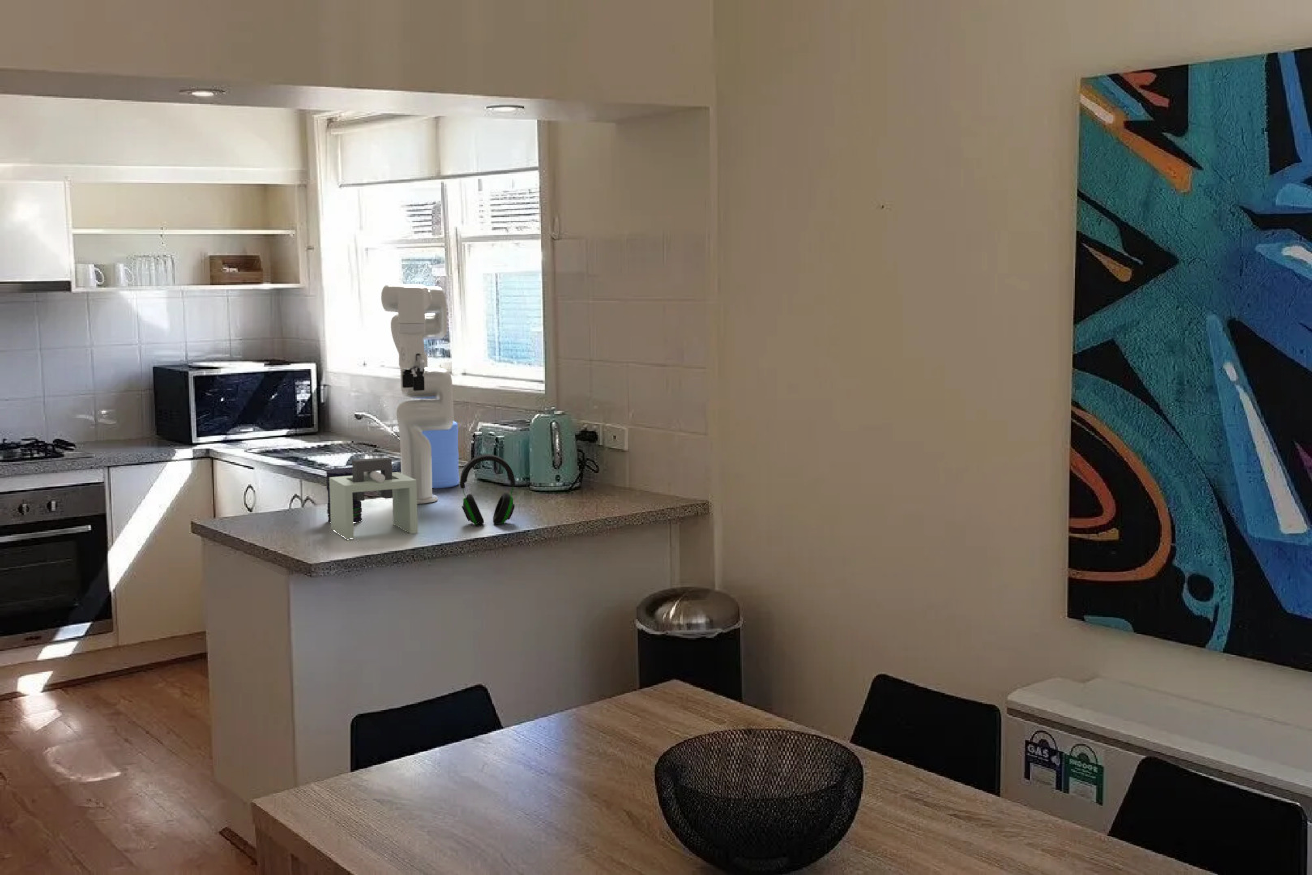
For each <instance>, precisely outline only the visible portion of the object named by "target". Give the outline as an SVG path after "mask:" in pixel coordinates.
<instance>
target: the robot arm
mask: <svg viewBox="0 0 1312 875" xmlns="http://www.w3.org/2000/svg"><path fill="white" fill-rule="evenodd" d="M380 300H381V305H382V307H383V309H384V311H385V312H390V313H397V314H395V315H393V317H392V318H391V320H390V331H391V336H392V340H393V343H394V345H395V348H396V350H397V352H398V366H399V367H400V369H399V370H400V389H401V393H402V395H403V396H404V397H405V398H407V399H410V400H406V401H403V402H401V403H400V404H398V406H397V408H396V421H397V426H398V433H399V443H400V444H399V446H400V449H399V450H400V473H402V474H404V475H406V476H409V477H411V478H413V479H415V480H416V487H417V505H419V504H420V505H421V504H430V503H433V502H436V501H438V495H435V494H433V489H432V457H431V444H430V442H429V440H428V439H427V438H426V437H425V435H424V434H423V433H422V432H423V431H435V430H448V429H450V428H451V427H452V425H453V421H455V420H454V418H455V417H454V416H455V414H454V413H455V412H454V393H453V392H454V390H453V378H452V376H451V372H450V371H449V370H447V369H446V368H440V367H439V368H438V367H437V368H432V367H431V368H429V367H428V365H429V364H428V355H427V353H426V351H425V344H424V340H442V339H443V338H445V337H446V335H447V333H448V332H447V331H448V306H447V305H448V304H447V297H446V293H445V292H444V290H443V289H442V288H441V287H439V286H426V285H423V284H385V285H384V286H383V287H382V289H381V296H380ZM411 399H413V400H411Z"/></svg>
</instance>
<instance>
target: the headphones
mask: <svg viewBox="0 0 1312 875" xmlns="http://www.w3.org/2000/svg"><path fill="white" fill-rule="evenodd" d="M485 461H487V462H488V461H491V462H496V463H498V464H500V465H501V466H502V467H503V469H504V470H505V473H506V476H507V479H508V480H509V486H510V487H511V490H510V493H508V492H503V493H502V494H501V496H500V497H499V498H498V501H497V504H496V506H495V510H494V511H493V512H494V513H493V515H492V516H493V517H492V522H493V523H494V524H495V525H499V524H501V525H504V524H505V522H506V521H508V520H510V519H511V517H512V515H513V513H514V509H515V507H516V506H515V503H514V497H513V496H512V493H513V490H514V487H515V486H516V480H515V474H514V472H513V470H512V467H511V466H510V465H509V463H508V462H507V461H506V460H504V458H502V457H500V456H497V455H495V454H487V453H485V454H481V455H476V456H474V457H473V458H472V459H470V460H468V462H466V464H465V465H464V467H463V469H462V470H461V474H460V477H459V486H460V489H462V492H463V494H464V498H463V499H462V501H463V502H462V505H461V509H462V510H463V512H464V515H465V517H466V519H467V521H468V522H470V523H472V524H473V525H474V526H477V525H480V526H481V525H483V524H484V523H485V520H484V518H483V515H482V513H481V511H480V509H479V506H478V505H477V502H476V499H475V498H474V496H473V494H472V493H469V494H467V495H466V494H465V490H464V489H465V488H466V486H465V483H467V482H468V478H469V477H468V476H469V473H470V471H471V470H472V469H473V467H474V466H476V465H477V464H479V463H482V462H485Z"/></svg>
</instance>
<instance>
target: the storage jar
mask: <svg viewBox="0 0 1312 875" xmlns="http://www.w3.org/2000/svg"><path fill="white" fill-rule="evenodd" d="M325 474H326V480H325V481H326V482H325V483H326V491H327V509H326V510H327V512H326V513H327V517H328V519H327V523H328V522H331V513H330V484H329V477H341V476H353V469H352V467H339V468H337V467H336V468H331V469H327V470H326V471H325ZM352 497H353V492H352ZM362 515H363V508H362V501H356V500H354V499H353V522H359V521H361V520H362V521H363V519H362ZM362 521H361V522H362ZM359 523H360V522H359Z"/></svg>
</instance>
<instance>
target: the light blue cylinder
mask: <svg viewBox="0 0 1312 875" xmlns="http://www.w3.org/2000/svg"><path fill="white" fill-rule="evenodd" d="M458 426H459V424H458V422H456V421H455V420H454V421H453V425H452V427H451V428H450V429H448V430H435V431H423V432H422V433H423V434H424V435H425V437H426V438H427V439H428V440H429V442H430V444H431V457H432V488H434V489H446V488H452V487H456V486H458V485H460V475H459V470H460V469H459V458H460V456H459V455H460V454H459V428H458Z"/></svg>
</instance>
